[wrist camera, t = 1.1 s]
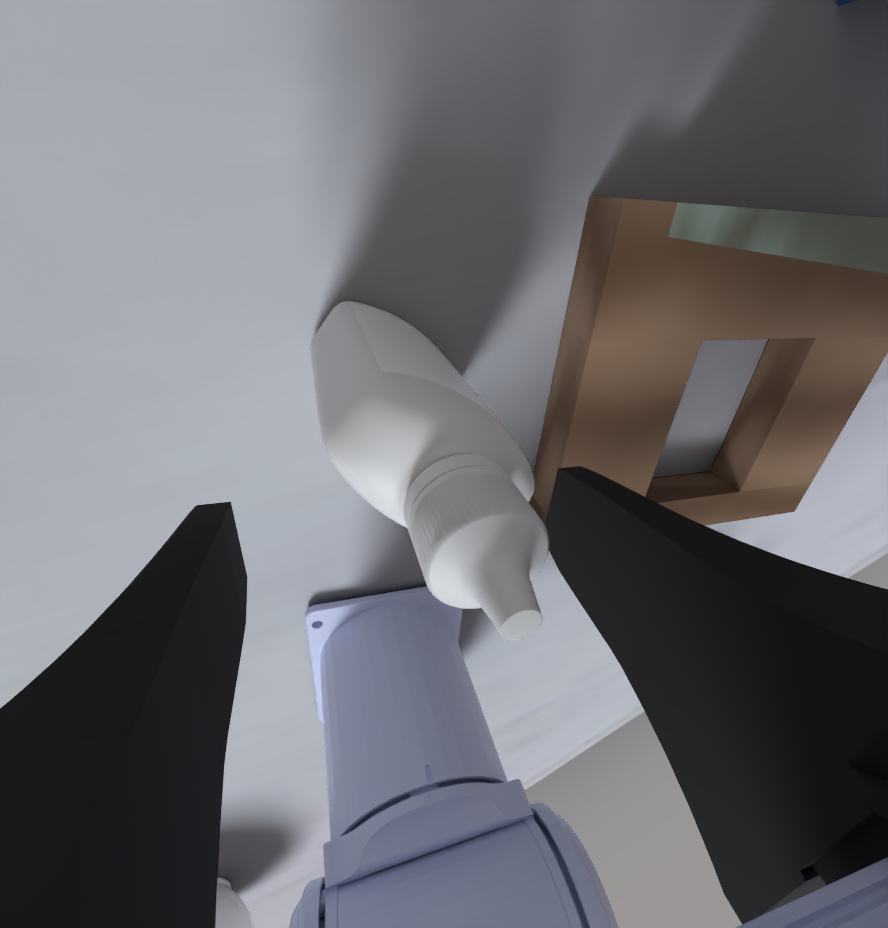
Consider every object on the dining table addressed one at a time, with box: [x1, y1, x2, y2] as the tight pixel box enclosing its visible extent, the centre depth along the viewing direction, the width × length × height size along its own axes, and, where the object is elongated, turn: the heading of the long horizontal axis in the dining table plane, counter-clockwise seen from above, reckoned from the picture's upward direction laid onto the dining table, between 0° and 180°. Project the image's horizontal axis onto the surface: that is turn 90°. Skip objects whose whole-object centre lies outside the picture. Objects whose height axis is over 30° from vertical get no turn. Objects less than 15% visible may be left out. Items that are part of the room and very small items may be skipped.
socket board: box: [529, 196, 888, 550], centre depth 17 cm, size 14×16×11 cm
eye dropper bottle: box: [310, 301, 549, 640], centre depth 12 cm, size 4×6×12 cm
